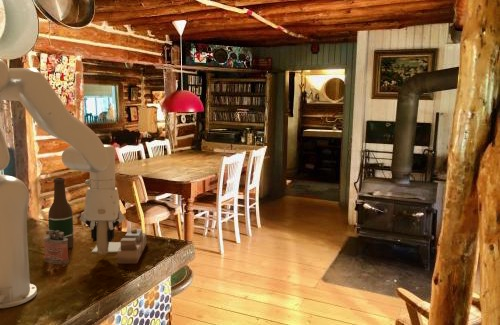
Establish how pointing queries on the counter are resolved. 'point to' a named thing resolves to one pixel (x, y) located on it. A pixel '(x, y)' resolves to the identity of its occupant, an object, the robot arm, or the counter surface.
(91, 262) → the counter surface
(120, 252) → the body
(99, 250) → the handle
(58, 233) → the lighter
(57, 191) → the brown glass bottle
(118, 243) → the felt pad
